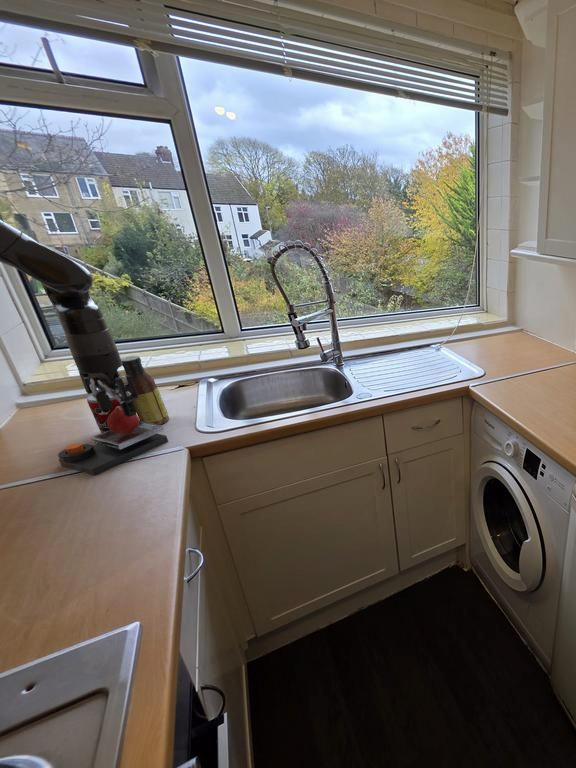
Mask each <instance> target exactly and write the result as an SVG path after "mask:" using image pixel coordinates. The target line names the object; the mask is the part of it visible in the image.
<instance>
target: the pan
mask: <svg viewBox="0 0 576 768" xmlns="http://www.w3.org/2000/svg"><path fill="white" fill-rule="evenodd" d="M163 431H165V428H164V426H163V424H160V425H158V424H153V423H149V422H145V421H140V420H139V425H138V427H137V428H136V429H135V430H134V431H133V433H132V434H131V435H123V434H118V433H115V432H113V431H111V430H108V431H106V432H103V433H101V432H100V433H98V434H96V435H93V436H91V437H90V438H89V439H90V441H91V444H92V443H93V444H100V445H104V446H108V447H111V448H115V449H119V450H120V449H123V448H125V447H127V446H130V445H132V444H134V443H136V442H139V441H141V440H143V439H145V438H148V437H150V436H152V435H155V434H160V433H161V432H163Z"/></svg>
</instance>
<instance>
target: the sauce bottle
mask: <svg viewBox="0 0 576 768" xmlns="http://www.w3.org/2000/svg"><path fill="white" fill-rule="evenodd" d="M140 357H141V356H139V355H129V356H126V357H122V358H121V360H122V363H123V364H122V366H121V367H123V369H124V372H125V376H126V375H129V376H130V378H131V381H132V383H133V385H134V388H135V390H136V393H137V395H138V398H137V399H134V400H132V401H133V404H134V407H135V409H136V412H137V413H136V415H137V416H138V418H139V420H140V421H145V422H149V423H153V424H158V425H163V424H165V423H167V422H169V419H170V417H169V413H168V411H167V407H166V405H165V403H164V400H163V398H162V395H161V393H160V390H159V388H158V386H157V384H156V382H155V380H154V378H153V377H152V376H151V375H150V374H148V373H147V372H146V371H145V369H144V367H143V364H142V359H141V358H140ZM129 392H130V391H129ZM130 393H131V392H130ZM131 395H132V394H131Z"/></svg>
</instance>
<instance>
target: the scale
mask: <svg viewBox="0 0 576 768" xmlns="http://www.w3.org/2000/svg"><path fill="white" fill-rule="evenodd" d="M166 443H169V439H168V437H167V435H165V434H160V433H157V434H155V435H152V436H150V437H148V438H145V439H143V440H141V441H139V442H136V443H134V444H132V445H130V446H127V447H125V448H123V449H120V450H119V449H115V448H111V447H108V446H104V445H100V444H96V443H94V444H92V443H91V444H90V443H82V445H83V447H84V450H83V451H80V452H78V453H74V454H68V453H67V451H66V449H65V448H64V449H62V450H61V451H59V452H58V456H57V457H58V462H59V464H60V467H63V468H67V469H70V470H74V471H76V472H80V473H84V474H86V475H90V476H94V477H96V476H98V475H101V474H102V473H104V472H106V471H109V470H111V469H113V468H115V467H118V466H119V465H122V464H123V463H126V462H129V461H130V460H133V459H134V458H137V457H139V456H141V455H144V454H145V453H147V452H149V451H151V450H153V449H156V448H159V447H160V446H162V445H164V444H166Z"/></svg>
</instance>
